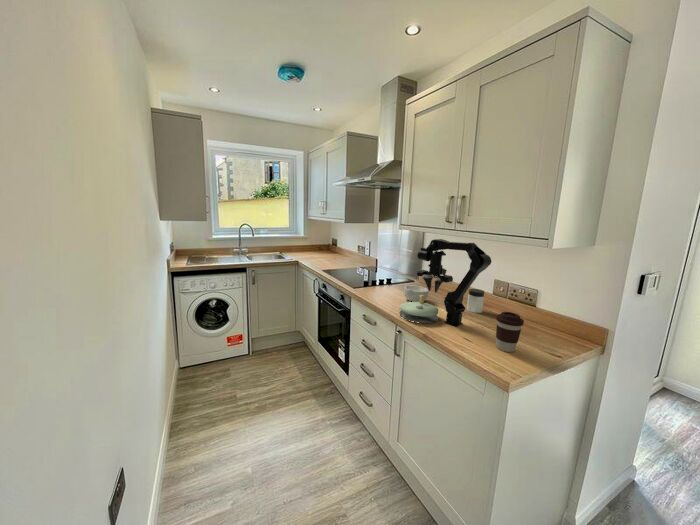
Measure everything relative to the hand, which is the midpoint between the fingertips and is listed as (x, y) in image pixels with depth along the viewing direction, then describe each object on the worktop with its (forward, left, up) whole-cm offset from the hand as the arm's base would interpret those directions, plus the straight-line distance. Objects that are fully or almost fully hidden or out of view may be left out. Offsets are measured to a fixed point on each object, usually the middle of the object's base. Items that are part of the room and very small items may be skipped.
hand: (432, 291), depth 156 cm
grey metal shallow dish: (+1, +8, -13) cm, 16 cm away
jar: (-10, -29, -13) cm, 33 cm away
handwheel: (+2, +8, -9) cm, 13 cm away
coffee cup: (-43, +6, -13) cm, 45 cm away
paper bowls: (+21, -14, -13) cm, 29 cm away
